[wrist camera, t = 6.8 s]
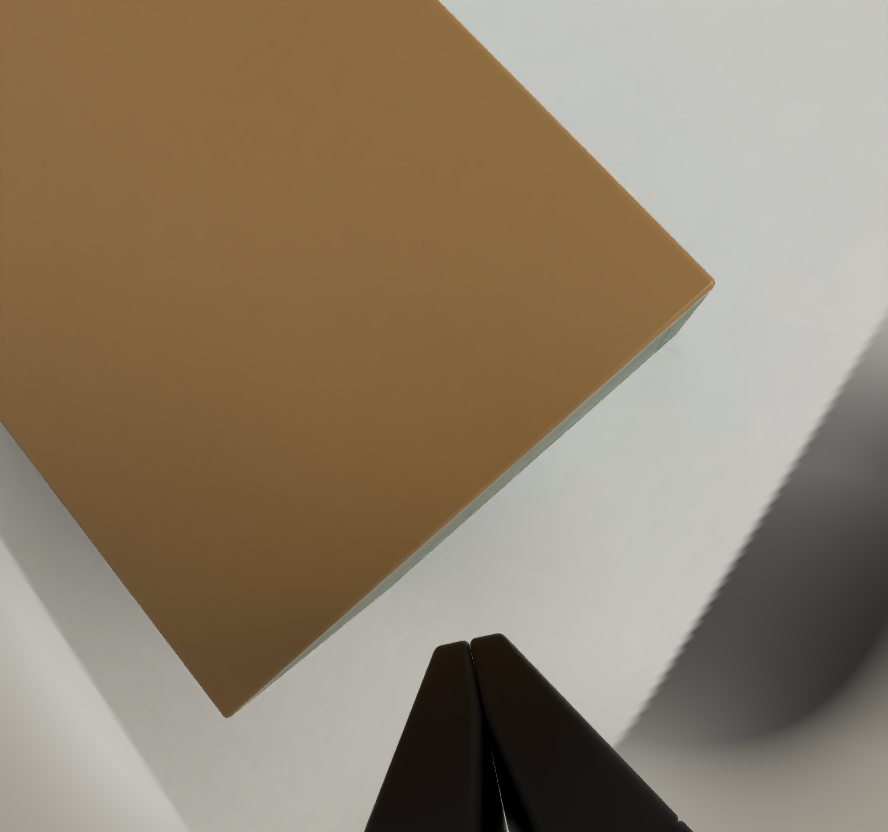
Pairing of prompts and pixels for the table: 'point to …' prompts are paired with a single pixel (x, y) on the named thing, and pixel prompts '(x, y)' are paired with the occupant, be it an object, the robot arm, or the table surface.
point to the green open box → (506, 478)
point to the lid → (294, 297)
